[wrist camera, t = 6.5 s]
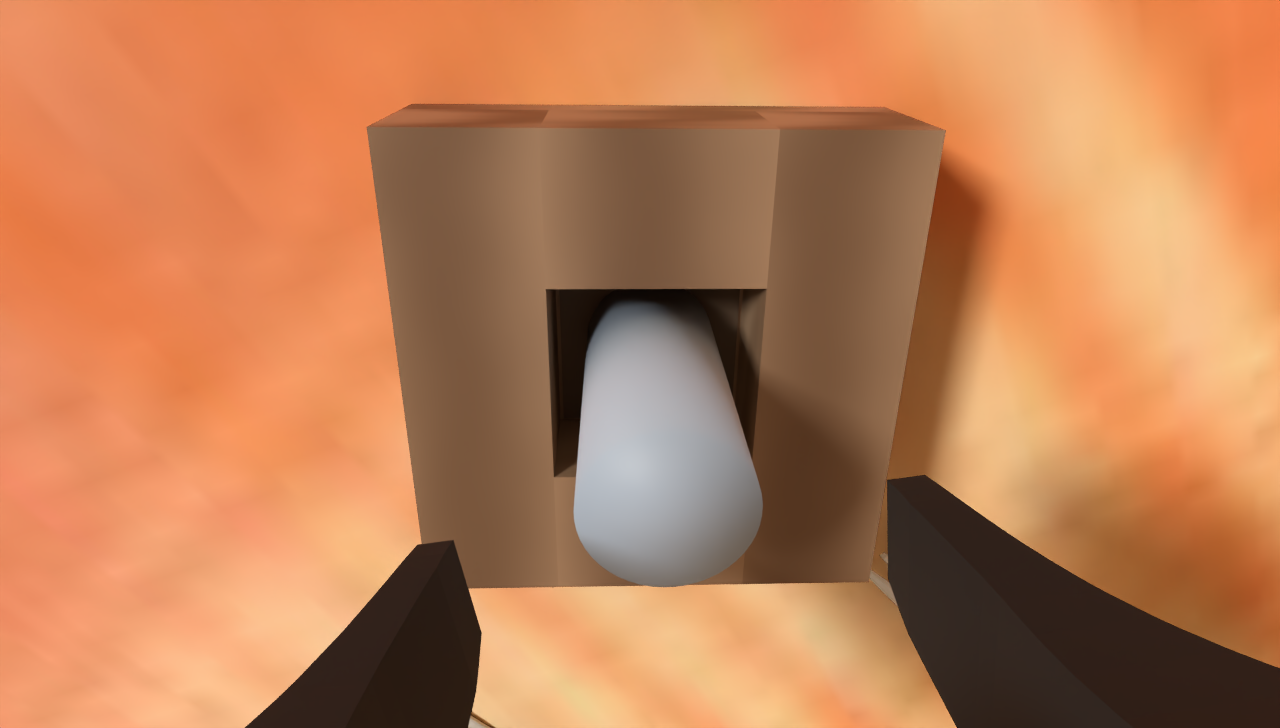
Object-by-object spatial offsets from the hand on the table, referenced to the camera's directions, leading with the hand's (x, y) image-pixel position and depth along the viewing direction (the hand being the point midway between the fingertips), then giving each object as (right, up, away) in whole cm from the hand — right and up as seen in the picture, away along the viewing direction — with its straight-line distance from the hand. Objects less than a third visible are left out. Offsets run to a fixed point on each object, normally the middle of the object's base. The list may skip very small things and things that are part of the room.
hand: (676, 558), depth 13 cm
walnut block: (0, +4, +9) cm, 10 cm away
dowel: (0, +4, +8) cm, 9 cm away
